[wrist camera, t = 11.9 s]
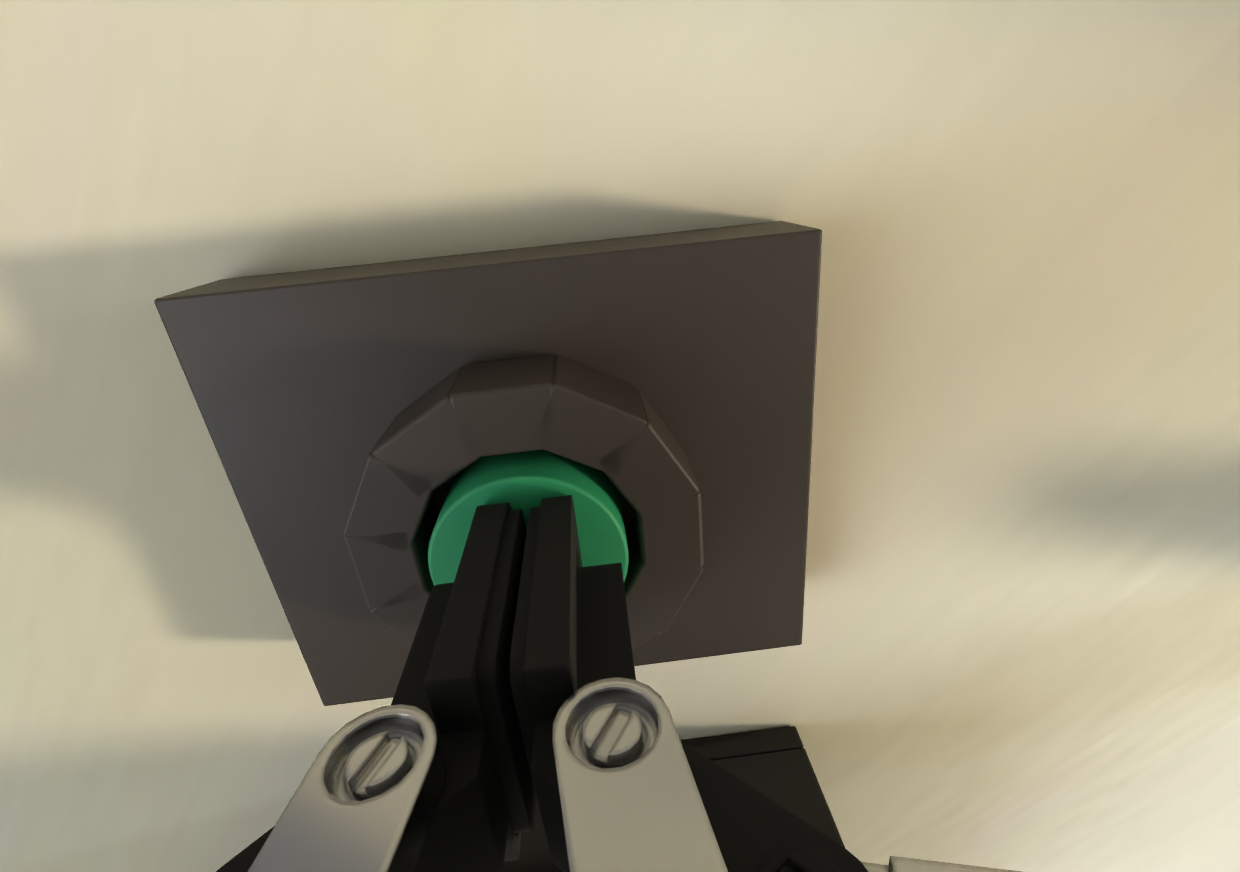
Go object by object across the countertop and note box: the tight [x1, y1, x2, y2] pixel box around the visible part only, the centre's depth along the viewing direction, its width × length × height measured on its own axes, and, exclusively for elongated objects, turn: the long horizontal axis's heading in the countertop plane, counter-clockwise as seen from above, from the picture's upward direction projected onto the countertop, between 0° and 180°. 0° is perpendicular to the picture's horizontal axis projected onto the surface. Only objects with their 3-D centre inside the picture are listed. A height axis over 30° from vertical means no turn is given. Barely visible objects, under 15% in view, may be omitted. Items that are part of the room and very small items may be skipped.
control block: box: [155, 221, 822, 706], centre depth 13 cm, size 10×12×4 cm
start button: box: [428, 449, 629, 586], centre depth 11 cm, size 4×4×2 cm
